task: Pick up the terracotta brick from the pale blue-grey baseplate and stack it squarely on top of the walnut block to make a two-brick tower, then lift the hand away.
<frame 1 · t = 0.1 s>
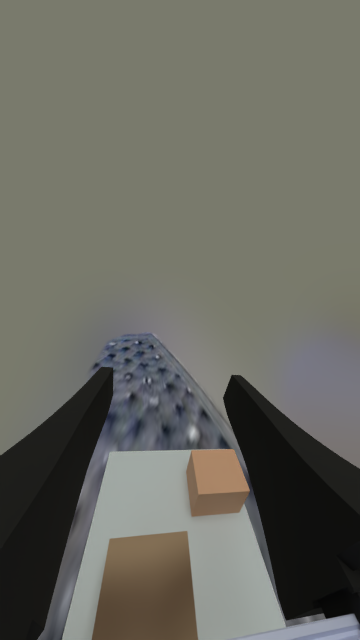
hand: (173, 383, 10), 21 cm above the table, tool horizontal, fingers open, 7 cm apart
baseplate: (175, 562, 17), on the table
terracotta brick: (210, 490, 22), point 1 cm above the table, touching baseplate
walnut block: (143, 627, 13), point 1 cm above the table, touching baseplate
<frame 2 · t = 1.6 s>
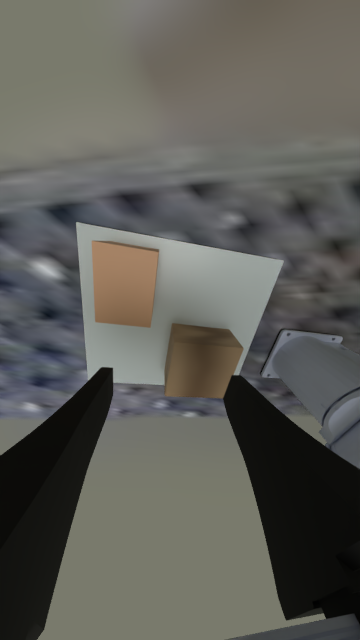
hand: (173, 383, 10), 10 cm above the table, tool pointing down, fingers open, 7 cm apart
baseplate: (175, 324, 20), on the table
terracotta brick: (133, 277, 17), point 1 cm above the table, touching baseplate
walnut block: (195, 350, 21), point 1 cm above the table, touching baseplate
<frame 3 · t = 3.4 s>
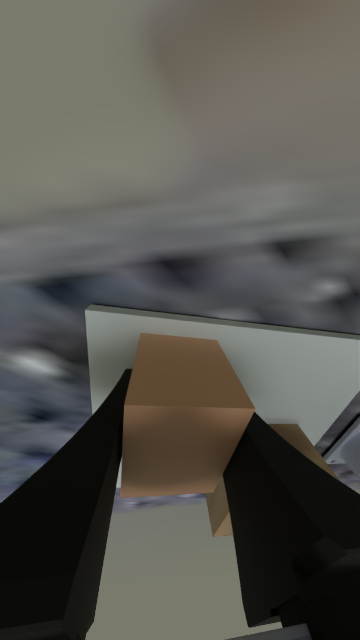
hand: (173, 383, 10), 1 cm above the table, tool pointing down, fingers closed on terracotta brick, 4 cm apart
baseplate: (221, 417, 14), on the table
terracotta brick: (172, 376, 11), point 1 cm above the table, touching baseplate, gripper
walnut block: (246, 448, 15), point 1 cm above the table, touching baseplate
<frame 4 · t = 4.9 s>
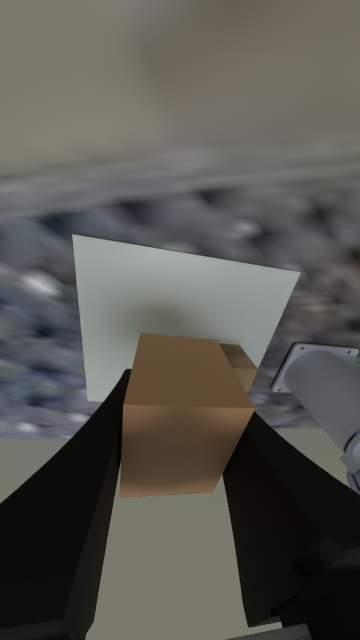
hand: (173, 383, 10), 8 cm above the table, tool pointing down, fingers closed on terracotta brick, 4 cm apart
baseplate: (181, 340, 19), on the table
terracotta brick: (172, 376, 11), point 8 cm above the table, touching gripper
walnut block: (203, 367, 20), point 1 cm above the table, touching baseplate
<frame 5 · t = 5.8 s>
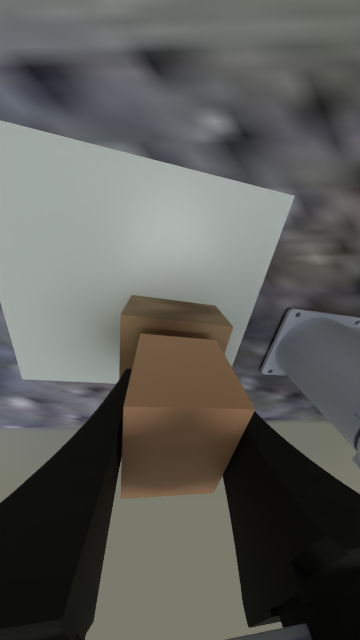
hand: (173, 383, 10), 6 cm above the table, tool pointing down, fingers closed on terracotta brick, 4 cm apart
baseplate: (139, 298, 14), on the table
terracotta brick: (172, 377, 11), point 6 cm above the table, touching gripper
walnut block: (169, 336, 15), point 1 cm above the table, touching baseplate
when the fingers open (6 cm above the table, at t = 6.5 s): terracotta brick drops 1 cm, resting on walnut block.
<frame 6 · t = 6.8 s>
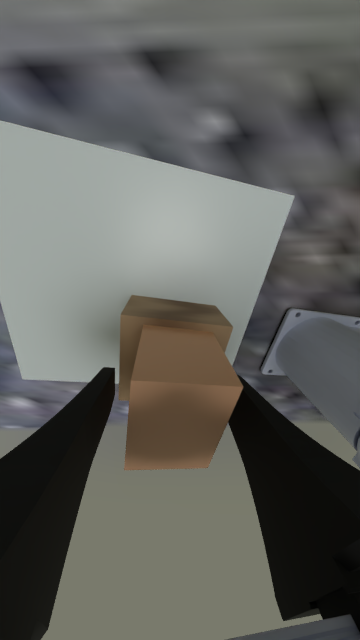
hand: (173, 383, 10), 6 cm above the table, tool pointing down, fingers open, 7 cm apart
baseplate: (139, 298, 14), on the table
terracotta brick: (171, 366, 12), point 5 cm above the table, touching walnut block
walnut block: (169, 336, 15), point 1 cm above the table, touching baseplate, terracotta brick
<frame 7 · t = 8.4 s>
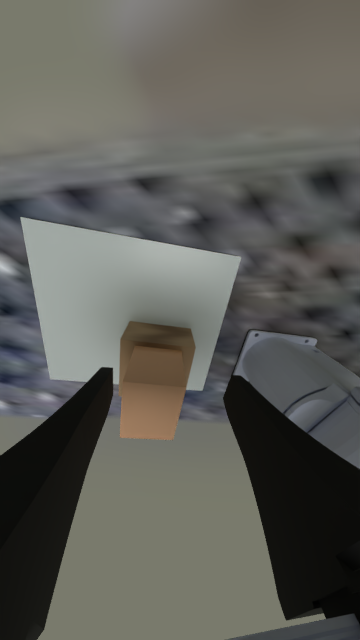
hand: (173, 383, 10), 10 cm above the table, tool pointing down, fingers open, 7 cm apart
baseplate: (135, 322, 20), on the table
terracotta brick: (155, 373, 17), point 5 cm above the table, touching walnut block
walnut block: (157, 350, 20), point 1 cm above the table, touching baseplate, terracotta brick
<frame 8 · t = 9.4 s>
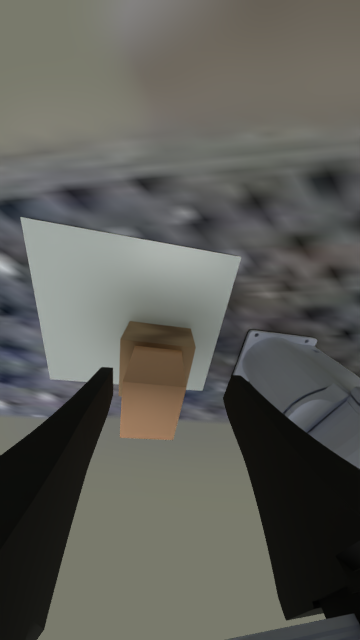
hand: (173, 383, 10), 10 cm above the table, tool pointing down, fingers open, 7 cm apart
baseplate: (135, 322, 20), on the table
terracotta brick: (155, 373, 17), point 5 cm above the table, touching walnut block
walnut block: (157, 350, 20), point 1 cm above the table, touching baseplate, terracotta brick
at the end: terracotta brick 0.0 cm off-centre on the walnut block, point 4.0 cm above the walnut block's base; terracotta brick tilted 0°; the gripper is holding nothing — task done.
